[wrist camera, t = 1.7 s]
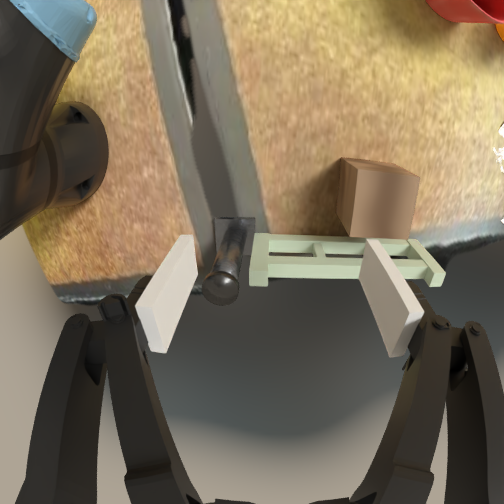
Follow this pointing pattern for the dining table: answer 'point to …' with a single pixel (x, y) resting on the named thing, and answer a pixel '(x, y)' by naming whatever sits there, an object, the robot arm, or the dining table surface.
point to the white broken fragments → (503, 153)
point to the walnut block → (376, 199)
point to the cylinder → (500, 30)
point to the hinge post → (228, 258)
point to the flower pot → (469, 10)
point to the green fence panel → (327, 267)
